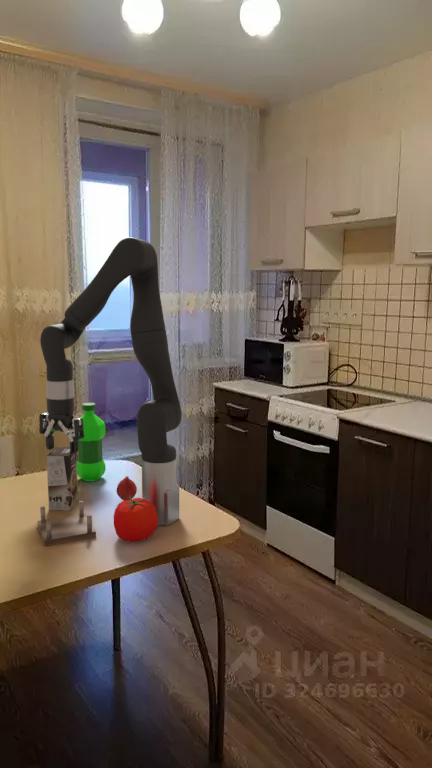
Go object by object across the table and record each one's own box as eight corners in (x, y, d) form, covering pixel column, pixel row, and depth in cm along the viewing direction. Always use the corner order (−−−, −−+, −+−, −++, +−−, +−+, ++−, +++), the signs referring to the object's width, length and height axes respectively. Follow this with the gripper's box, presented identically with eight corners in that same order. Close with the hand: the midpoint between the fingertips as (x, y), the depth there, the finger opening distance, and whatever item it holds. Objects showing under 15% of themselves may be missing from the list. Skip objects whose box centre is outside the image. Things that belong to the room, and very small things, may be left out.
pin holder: (96, 537, 145) (95, 516, 144) (44, 546, 140) (43, 524, 139) (85, 518, 157) (85, 499, 156) (37, 526, 152) (36, 506, 151)
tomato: (129, 525, 153) (128, 488, 151) (167, 533, 148) (166, 495, 146) (102, 543, 142) (101, 504, 140) (141, 553, 137) (141, 512, 136)
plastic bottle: (75, 485, 182) (72, 408, 178) (75, 474, 192) (72, 401, 188) (107, 483, 184) (105, 406, 180) (105, 472, 194) (104, 400, 190)
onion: (113, 503, 167) (112, 477, 166) (123, 497, 173) (122, 471, 171) (130, 506, 165) (130, 480, 164) (140, 500, 170) (140, 474, 169)
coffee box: (70, 510, 162) (68, 455, 159) (48, 510, 162) (45, 455, 159) (79, 498, 171) (77, 446, 168) (57, 498, 171) (55, 446, 168)
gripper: (89, 396, 161) (90, 451, 164) (50, 390, 167) (52, 444, 170) (71, 400, 155) (72, 458, 158) (31, 395, 161) (33, 450, 164)
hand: (62, 451), depth 164 cm, fingers open, 8 cm apart
